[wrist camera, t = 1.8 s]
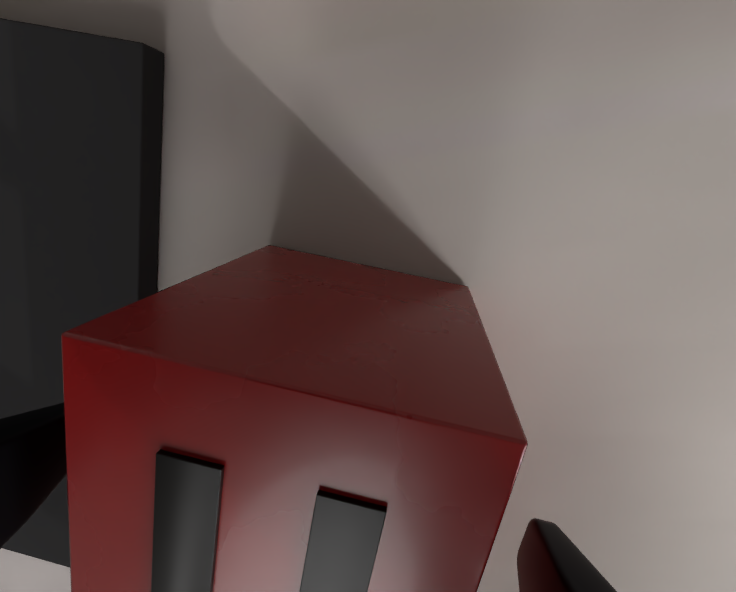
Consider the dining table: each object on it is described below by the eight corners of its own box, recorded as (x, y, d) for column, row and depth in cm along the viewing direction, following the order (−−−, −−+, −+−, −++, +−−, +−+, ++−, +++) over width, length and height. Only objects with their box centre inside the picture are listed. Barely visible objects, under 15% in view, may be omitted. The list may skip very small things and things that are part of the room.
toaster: (388, 593, 17) (354, 951, 9) (234, 551, 17) (76, 856, 9) (468, 286, 13) (532, 448, 5) (268, 244, 13) (51, 334, 6)
